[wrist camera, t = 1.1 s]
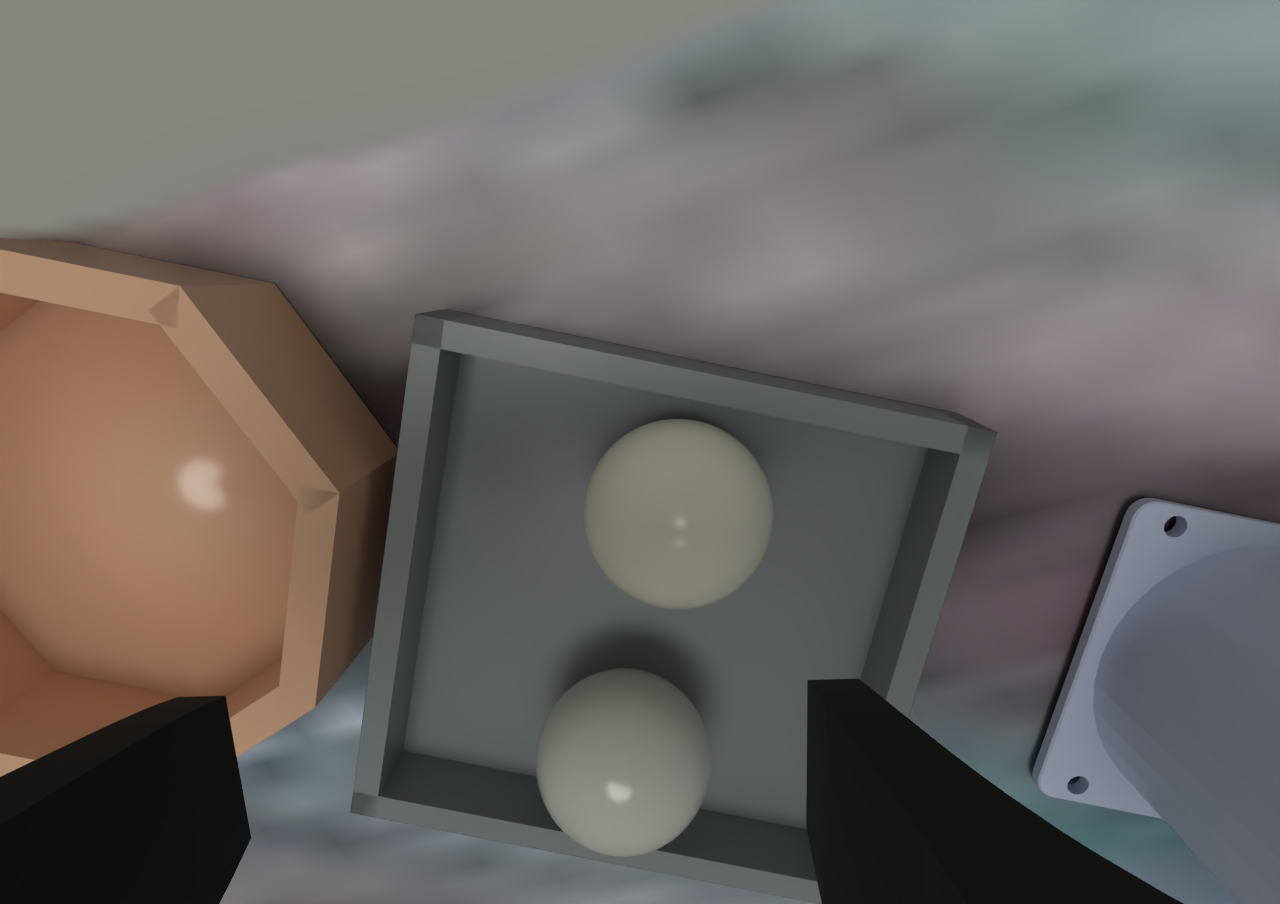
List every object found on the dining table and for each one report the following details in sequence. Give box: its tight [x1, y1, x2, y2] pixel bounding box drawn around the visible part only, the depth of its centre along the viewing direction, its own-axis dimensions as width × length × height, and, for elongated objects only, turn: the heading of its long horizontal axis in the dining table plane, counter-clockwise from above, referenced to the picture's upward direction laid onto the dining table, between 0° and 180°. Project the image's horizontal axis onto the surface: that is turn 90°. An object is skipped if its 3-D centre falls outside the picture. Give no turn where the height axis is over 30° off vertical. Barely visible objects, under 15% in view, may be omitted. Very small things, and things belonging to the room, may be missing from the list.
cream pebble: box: [583, 419, 774, 610], centre depth 16 cm, size 4×4×4 cm
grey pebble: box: [536, 668, 711, 857], centre depth 18 cm, size 4×4×4 cm
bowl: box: [0, 238, 398, 777], centre depth 17 cm, size 12×12×4 cm
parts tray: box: [350, 309, 997, 904], centre depth 18 cm, size 12×12×2 cm
